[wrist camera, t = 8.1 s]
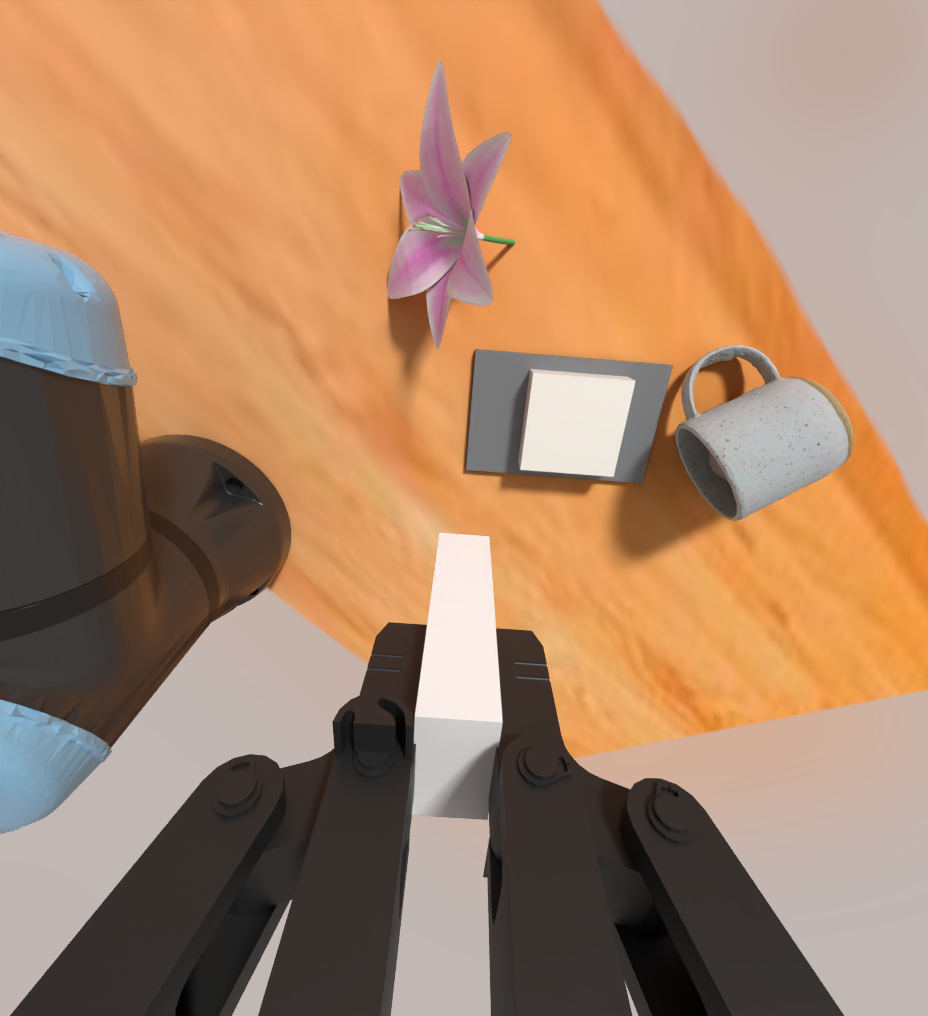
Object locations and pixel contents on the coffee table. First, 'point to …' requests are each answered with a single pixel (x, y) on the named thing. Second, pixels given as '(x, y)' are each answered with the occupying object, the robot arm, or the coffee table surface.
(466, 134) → the coffee table surface
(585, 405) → the tile
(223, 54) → the coffee table surface
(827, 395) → the ceramic mug
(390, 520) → the coffee table surface
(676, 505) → the coffee table surface
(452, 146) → the lily
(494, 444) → the mat
